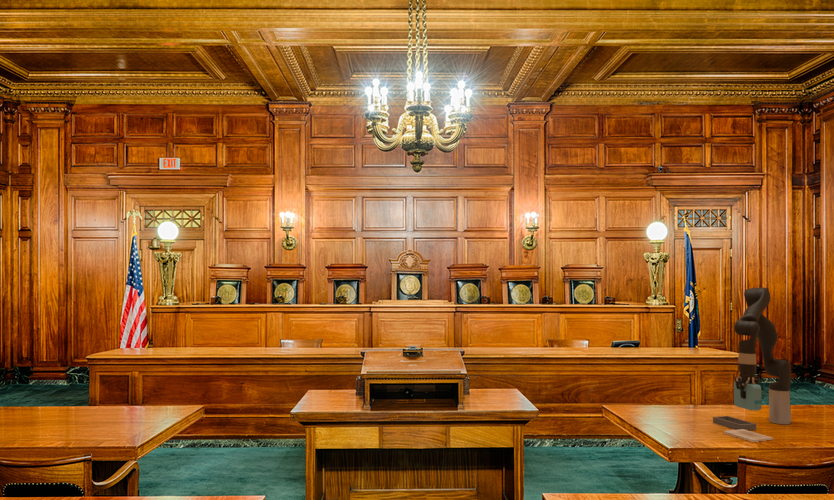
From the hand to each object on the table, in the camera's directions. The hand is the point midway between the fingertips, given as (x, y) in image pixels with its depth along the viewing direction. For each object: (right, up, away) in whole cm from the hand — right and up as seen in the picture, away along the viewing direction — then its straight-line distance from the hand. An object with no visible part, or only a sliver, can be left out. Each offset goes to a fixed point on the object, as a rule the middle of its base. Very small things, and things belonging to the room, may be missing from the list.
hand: (747, 398), depth 273 cm
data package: (0, -5, 0) cm, 5 cm away
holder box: (+4, -19, +19) cm, 27 cm away
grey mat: (0, -18, -1) cm, 18 cm away
